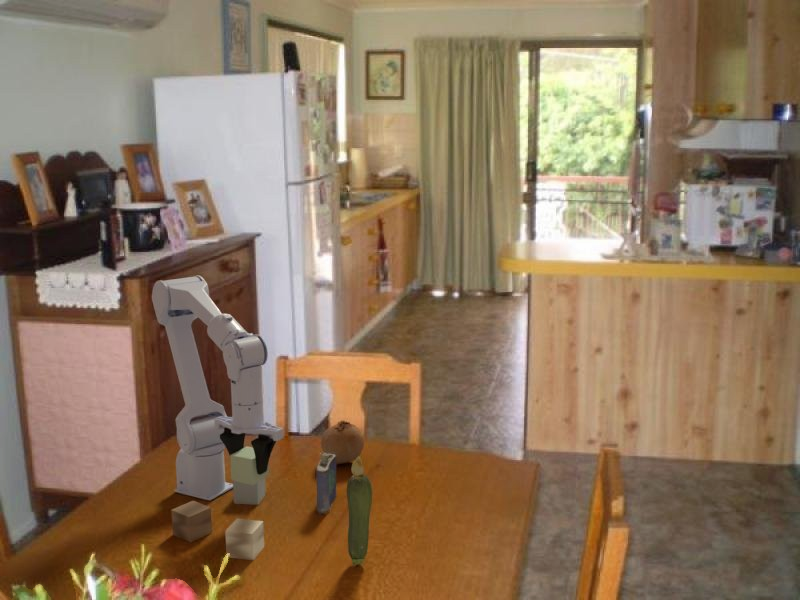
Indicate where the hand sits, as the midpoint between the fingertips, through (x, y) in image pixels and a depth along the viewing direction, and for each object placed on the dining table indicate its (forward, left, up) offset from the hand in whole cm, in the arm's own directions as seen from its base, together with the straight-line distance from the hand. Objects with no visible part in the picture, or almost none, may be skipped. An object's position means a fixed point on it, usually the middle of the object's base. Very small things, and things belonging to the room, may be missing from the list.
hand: (250, 469), depth 168 cm
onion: (+1, +31, -10) cm, 33 cm away
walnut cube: (-6, -10, -10) cm, 15 cm away
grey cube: (-6, +7, -10) cm, 14 cm away
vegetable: (+27, -5, -10) cm, 29 cm away
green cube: (0, 0, -2) cm, 2 cm away
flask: (+9, +12, -10) cm, 18 cm away
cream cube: (+7, -11, -10) cm, 16 cm away
